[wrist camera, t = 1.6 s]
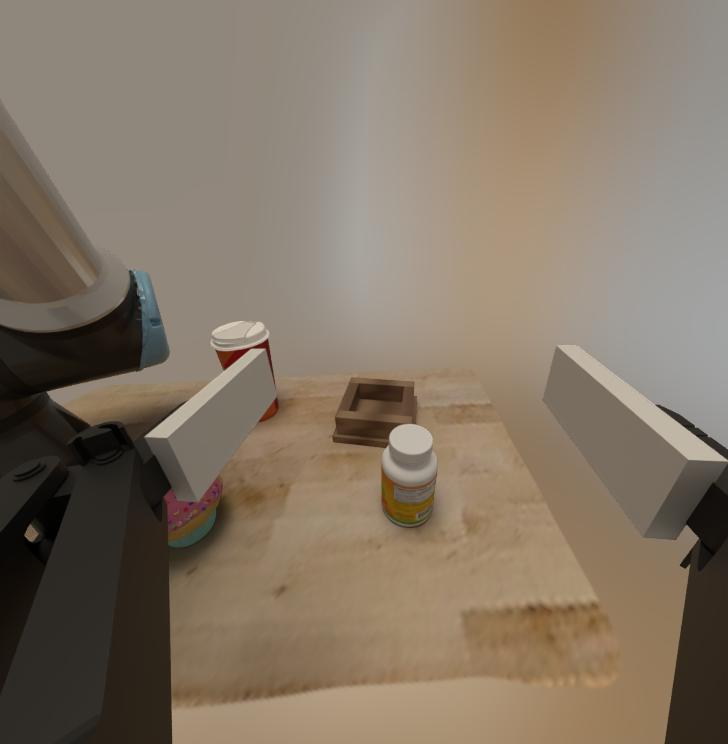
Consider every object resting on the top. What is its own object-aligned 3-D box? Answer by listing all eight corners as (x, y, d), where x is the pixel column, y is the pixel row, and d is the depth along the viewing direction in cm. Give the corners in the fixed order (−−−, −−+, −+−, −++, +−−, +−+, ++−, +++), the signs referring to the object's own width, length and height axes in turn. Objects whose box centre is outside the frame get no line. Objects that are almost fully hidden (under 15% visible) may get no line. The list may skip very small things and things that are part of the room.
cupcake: (250, 502, 32) (219, 418, 26) (187, 585, 25) (124, 498, 19) (192, 482, 35) (151, 402, 29) (120, 552, 28) (47, 466, 22)
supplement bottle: (385, 480, 34) (385, 416, 29) (432, 487, 33) (440, 421, 28) (378, 523, 30) (376, 456, 25) (431, 533, 29) (441, 464, 24)
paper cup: (253, 394, 51) (231, 317, 44) (293, 399, 49) (277, 320, 42) (224, 423, 44) (193, 338, 37) (268, 430, 42) (245, 343, 35)
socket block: (333, 441, 40) (330, 419, 38) (350, 395, 49) (349, 375, 47) (413, 450, 38) (415, 427, 36) (416, 400, 47) (417, 380, 45)
